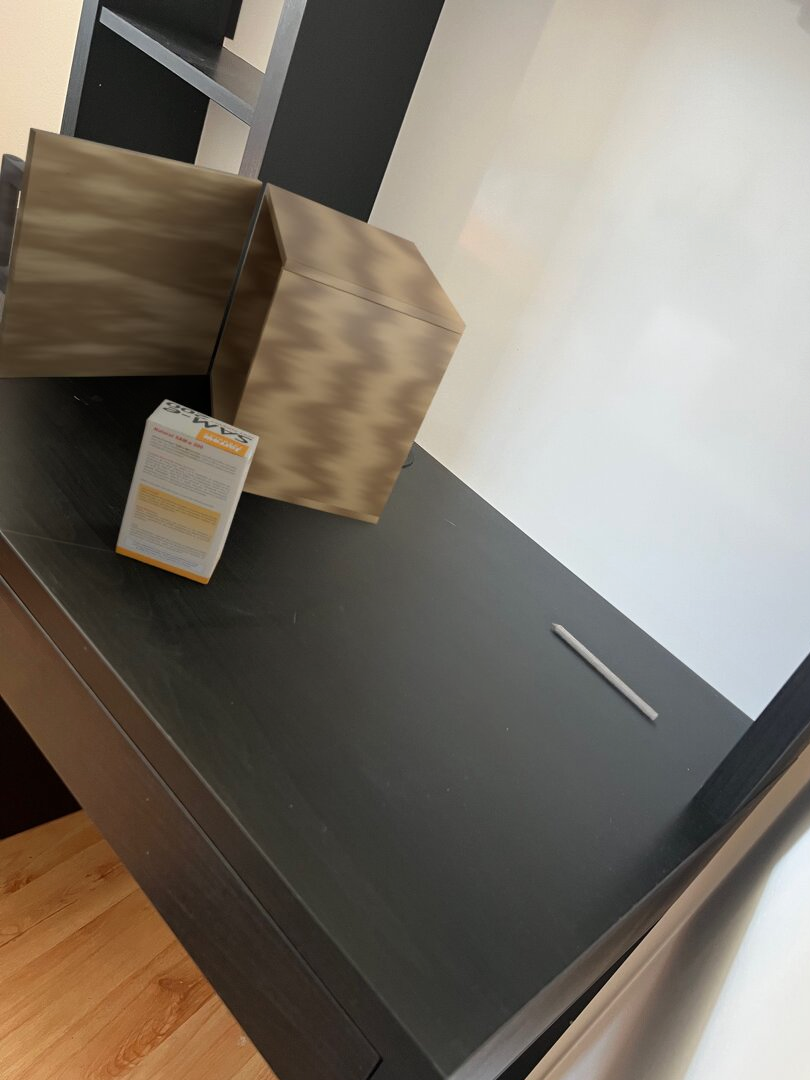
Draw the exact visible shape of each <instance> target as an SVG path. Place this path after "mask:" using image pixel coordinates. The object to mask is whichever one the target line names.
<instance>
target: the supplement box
mask: <svg viewBox="0 0 810 1080" xmlns="http://www.w3.org/2000/svg"><path fill="white" fill-rule="evenodd" d="M258 439H259V437H258V436H256V435H253V434H251V433H249V432H246V431H243V430H241V429H239V428H236V427H233V426H231V425H229V424H226V423H224V422H221V421H219V420H216V419H214V418H212V417H211V416H208V415H206V414H204V413H201V412H198V411H196V410H194V409H192V408H189V407H186V406H184V405H183V404H182V405H181V404H179V403H176V402H174V401H172V400H169V399H164V400H163V401H162V402H161V403H160V405H158V406H157V408H156V409H155V410H154V411H153V413H151V414H150V415H149V417H148V418H146V420H145V427H144V431H143V435H142V438H141V442H140V443H141V444H140V447H139V451H138V455H137V459H136V463H135V467H134V471H133V476H132V480H131V484H130V489H129V491H128V496H127V501H126V504H125V508H124V511H123V516H122V520H121V524H120V529H119V533H118V537H117V542H116V546H115V553H117V554H119V555H122V556H125V557H128V558H131V559H134V560H136V561H139V562H142V563H144V564H148V565H150V566H152V567H153V566H154V567H156V568H159V569H161V570H164V571H167V572H170V573H173V574H176V575H178V576H181V577H184V578H187V579H190V580H192V581H195V582H197V583H200V584H203V585H207V584H208V583H209V581H210V579H211V577H212V575H213V573H214V571H215V569H216V566H217V564H218V563H219V560H220V559H221V556H222V553H223V550H224V547H225V543H226V540H227V538H228V535H229V532H230V528H231V525H232V522H233V519H234V515H235V513H236V510H237V506H238V503H239V501H240V498H241V494H242V493H243V491H242V489H243V486H244V483H245V480H246V476H247V473H248V470H249V467H250V464H251V461H252V458H253V455H254V452H255V449H256V446H257V443H258Z"/></svg>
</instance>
